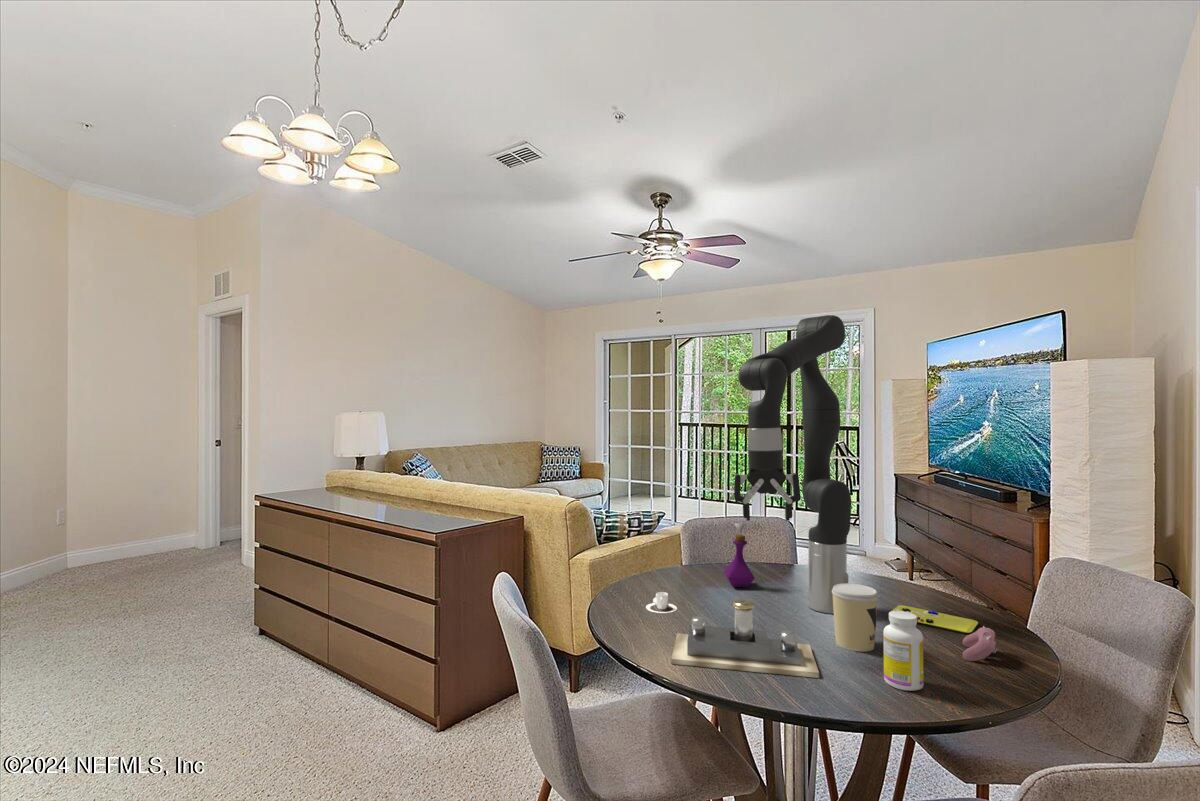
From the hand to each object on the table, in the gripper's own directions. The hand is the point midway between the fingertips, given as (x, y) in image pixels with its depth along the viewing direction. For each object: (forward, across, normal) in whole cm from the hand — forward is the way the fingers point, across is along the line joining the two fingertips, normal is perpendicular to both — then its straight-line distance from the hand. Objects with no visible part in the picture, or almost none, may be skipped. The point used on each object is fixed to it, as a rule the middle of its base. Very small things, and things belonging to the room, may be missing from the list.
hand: (767, 520), depth 134 cm
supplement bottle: (+27, -22, +19) cm, 40 cm away
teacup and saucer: (+26, +24, -17) cm, 39 cm away
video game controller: (+28, -42, +1) cm, 50 cm away
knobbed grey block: (+26, +7, +12) cm, 29 cm away
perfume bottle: (+27, +6, -39) cm, 48 cm away
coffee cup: (+27, -17, +1) cm, 32 cm away
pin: (+25, +7, +12) cm, 28 cm away
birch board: (+26, +7, +12) cm, 29 cm away
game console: (+29, -40, -20) cm, 53 cm away
